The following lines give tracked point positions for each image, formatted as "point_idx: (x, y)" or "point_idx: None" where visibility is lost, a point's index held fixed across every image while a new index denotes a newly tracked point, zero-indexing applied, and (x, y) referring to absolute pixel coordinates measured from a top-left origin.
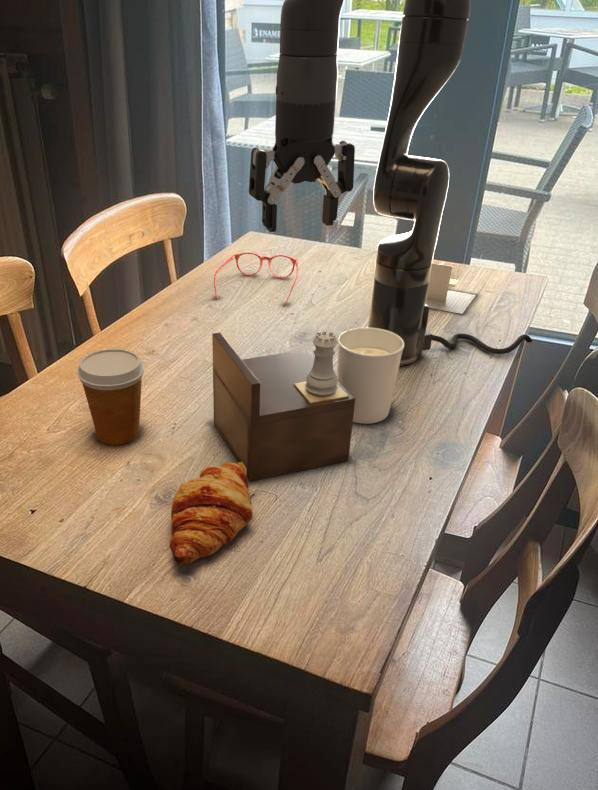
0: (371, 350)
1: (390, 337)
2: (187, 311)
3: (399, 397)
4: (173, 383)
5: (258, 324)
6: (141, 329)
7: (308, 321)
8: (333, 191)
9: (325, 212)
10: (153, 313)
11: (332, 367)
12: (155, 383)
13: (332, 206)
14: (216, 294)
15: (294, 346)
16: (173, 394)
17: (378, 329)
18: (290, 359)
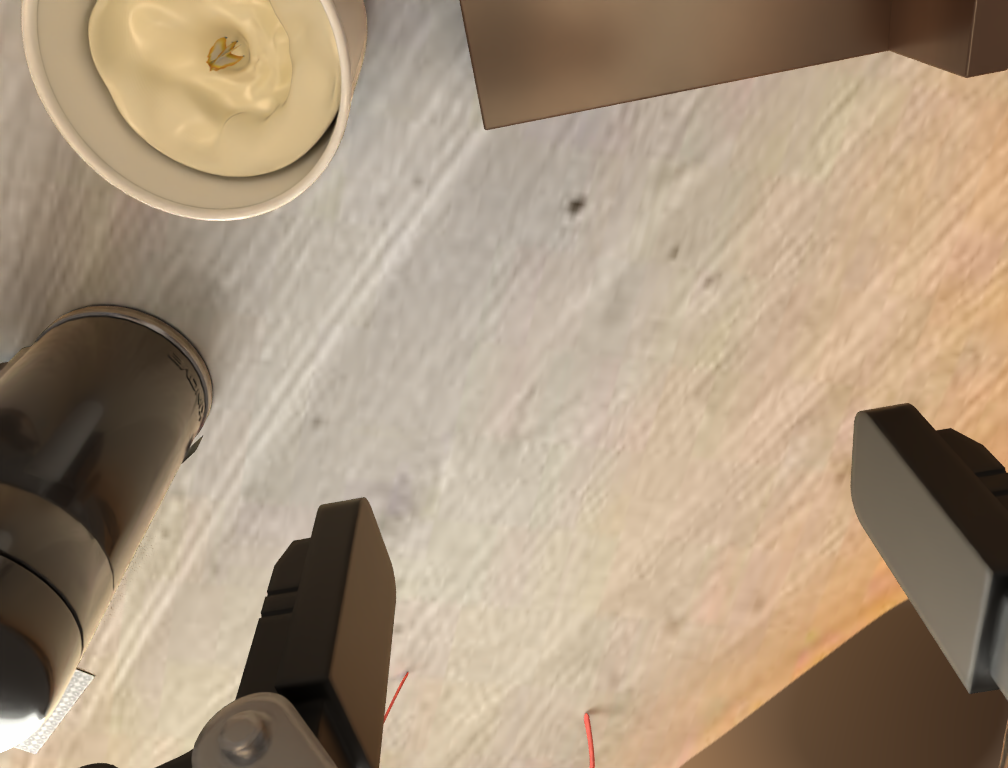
0: (193, 154)
1: (91, 143)
2: (681, 662)
3: None
4: (848, 292)
5: (505, 585)
6: (832, 588)
7: None
8: (287, 750)
9: (375, 613)
10: (773, 660)
11: None
12: (900, 299)
13: (313, 617)
14: (588, 725)
15: (427, 462)
16: (871, 226)
17: (140, 193)
18: (582, 35)
